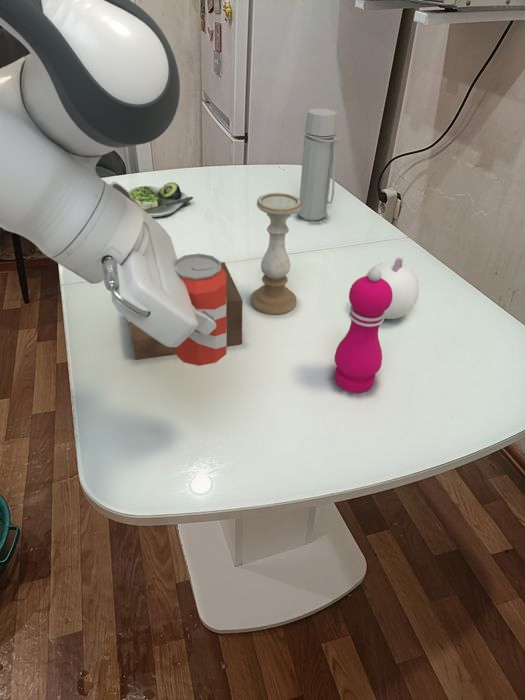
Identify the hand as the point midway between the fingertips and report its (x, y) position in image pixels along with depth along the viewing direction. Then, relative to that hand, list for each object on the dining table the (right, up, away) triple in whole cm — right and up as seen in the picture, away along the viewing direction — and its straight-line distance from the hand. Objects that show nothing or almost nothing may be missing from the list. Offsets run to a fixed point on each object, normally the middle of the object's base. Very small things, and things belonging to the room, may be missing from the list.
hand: (204, 308), depth 58 cm
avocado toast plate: (-22, +33, +75) cm, 84 cm away
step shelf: (-7, -1, +32) cm, 33 cm away
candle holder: (+9, +4, +41) cm, 42 cm away
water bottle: (+20, +29, +72) cm, 80 cm away
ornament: (+30, +2, +39) cm, 49 cm away
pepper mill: (+21, -10, +24) cm, 33 cm away
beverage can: (-1, -5, +4) cm, 7 cm away
